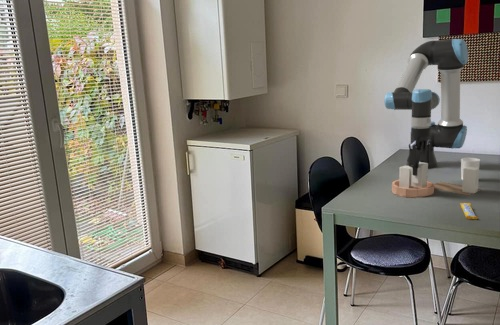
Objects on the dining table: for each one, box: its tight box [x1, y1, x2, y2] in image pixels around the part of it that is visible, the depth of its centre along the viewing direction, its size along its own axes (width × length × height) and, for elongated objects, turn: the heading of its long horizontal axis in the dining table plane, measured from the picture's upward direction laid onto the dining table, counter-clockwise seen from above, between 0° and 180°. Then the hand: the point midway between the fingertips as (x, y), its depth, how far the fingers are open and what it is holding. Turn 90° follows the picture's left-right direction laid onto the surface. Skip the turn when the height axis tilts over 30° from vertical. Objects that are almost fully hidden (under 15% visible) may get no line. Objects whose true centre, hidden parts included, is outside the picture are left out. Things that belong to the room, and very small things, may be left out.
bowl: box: [391, 179, 435, 199], centre depth 197 cm, size 17×17×4 cm
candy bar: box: [459, 202, 479, 220], centre depth 170 cm, size 17×4×2 cm, turn 163°
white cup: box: [460, 157, 481, 181], centre depth 210 cm, size 8×8×10 cm
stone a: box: [398, 164, 415, 189], centre depth 199 cm, size 4×5×10 cm
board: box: [434, 181, 483, 196], centre depth 198 cm, size 12×19×1 cm, turn 38°
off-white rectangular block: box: [411, 162, 429, 188], centre depth 193 cm, size 4×5×10 cm
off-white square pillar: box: [462, 167, 480, 194], centre depth 192 cm, size 4×5×10 cm
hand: (419, 181), depth 194 cm, fingers closed on off-white rectangular block, 4 cm apart
